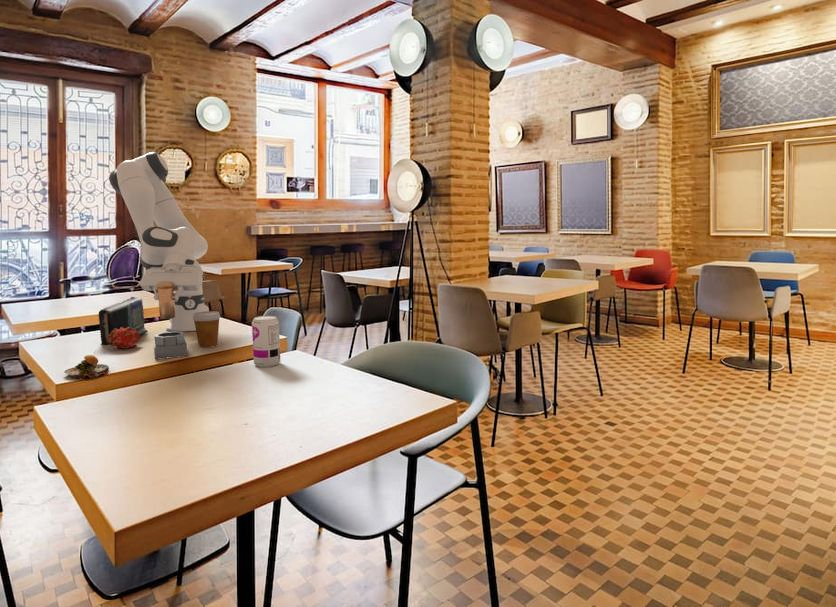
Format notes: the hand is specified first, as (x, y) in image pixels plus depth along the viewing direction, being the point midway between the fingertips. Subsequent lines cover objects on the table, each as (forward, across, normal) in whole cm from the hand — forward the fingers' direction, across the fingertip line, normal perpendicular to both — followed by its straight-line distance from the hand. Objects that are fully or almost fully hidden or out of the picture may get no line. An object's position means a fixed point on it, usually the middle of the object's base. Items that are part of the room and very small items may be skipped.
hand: (165, 299), depth 198 cm
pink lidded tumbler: (+4, 0, +5) cm, 6 cm away
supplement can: (+22, +37, +6) cm, 43 cm away
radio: (-4, -29, +31) cm, 43 cm away
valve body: (+11, -1, +16) cm, 19 cm away
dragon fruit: (+7, -21, +21) cm, 30 cm away
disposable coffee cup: (+4, +8, +24) cm, 25 cm away
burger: (+31, -14, -3) cm, 34 cm away
